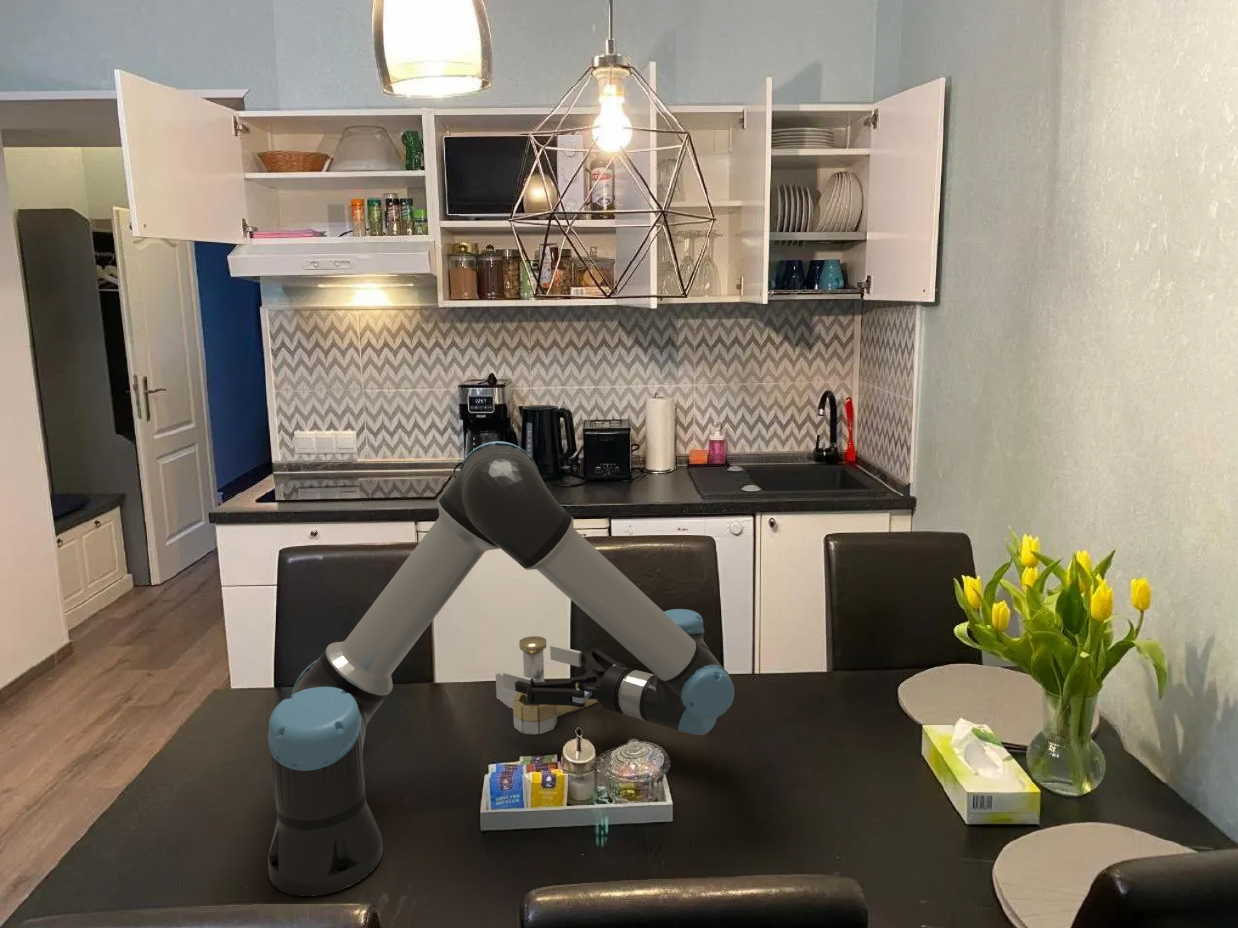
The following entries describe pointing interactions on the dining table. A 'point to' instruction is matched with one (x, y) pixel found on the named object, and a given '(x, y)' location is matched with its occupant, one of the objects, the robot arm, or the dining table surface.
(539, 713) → the ring holder
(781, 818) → the dining table surface
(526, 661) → the hinge pin
